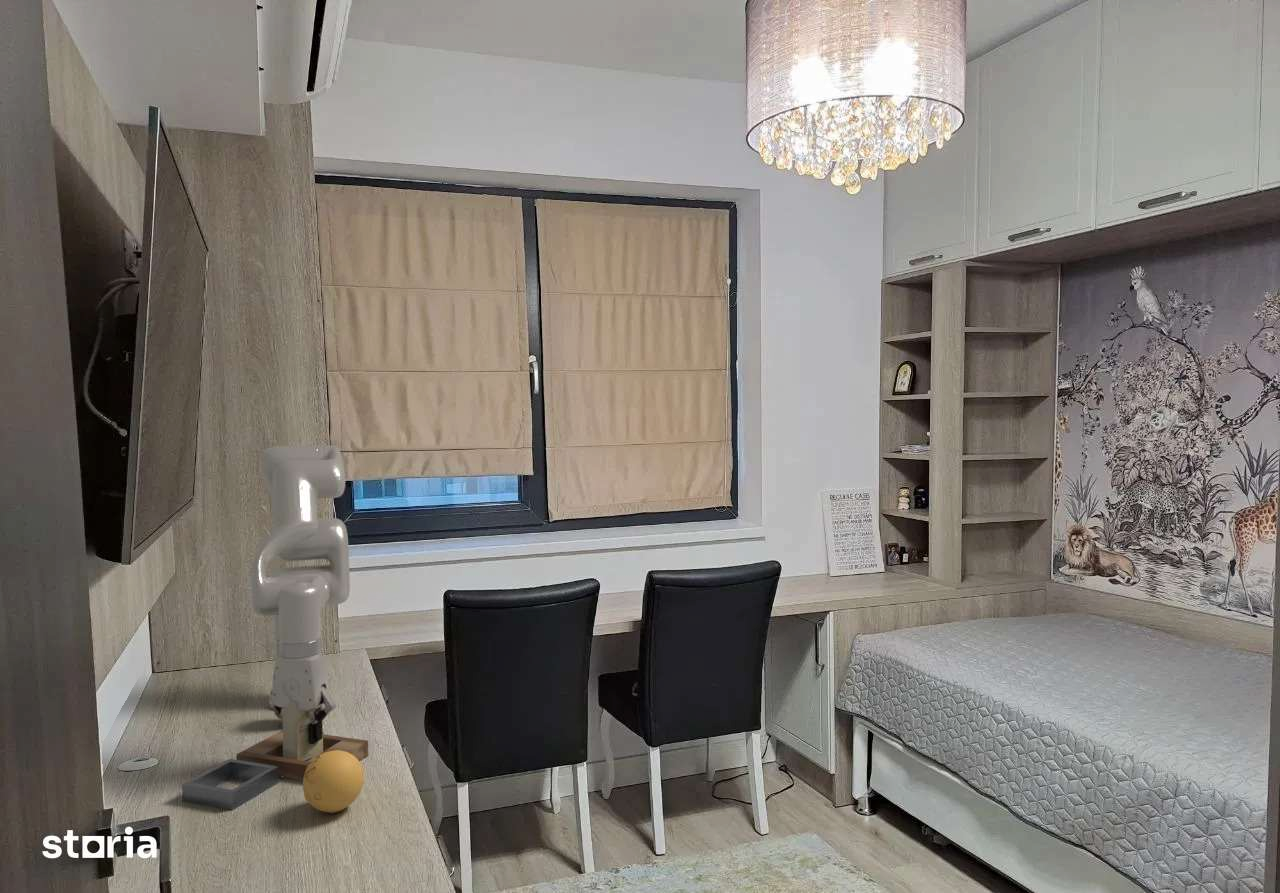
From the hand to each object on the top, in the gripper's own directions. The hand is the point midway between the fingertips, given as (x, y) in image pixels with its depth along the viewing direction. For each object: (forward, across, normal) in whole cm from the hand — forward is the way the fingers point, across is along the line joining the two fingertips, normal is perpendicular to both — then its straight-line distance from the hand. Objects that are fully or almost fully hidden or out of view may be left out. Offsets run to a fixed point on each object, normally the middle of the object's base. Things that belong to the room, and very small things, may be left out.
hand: (303, 738), depth 163 cm
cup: (+5, -16, +15) cm, 22 cm away
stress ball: (+4, +18, -14) cm, 24 cm away
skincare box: (+4, 0, 0) cm, 4 cm away
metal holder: (+4, -4, -14) cm, 15 cm away
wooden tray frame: (+5, 0, 0) cm, 5 cm away
